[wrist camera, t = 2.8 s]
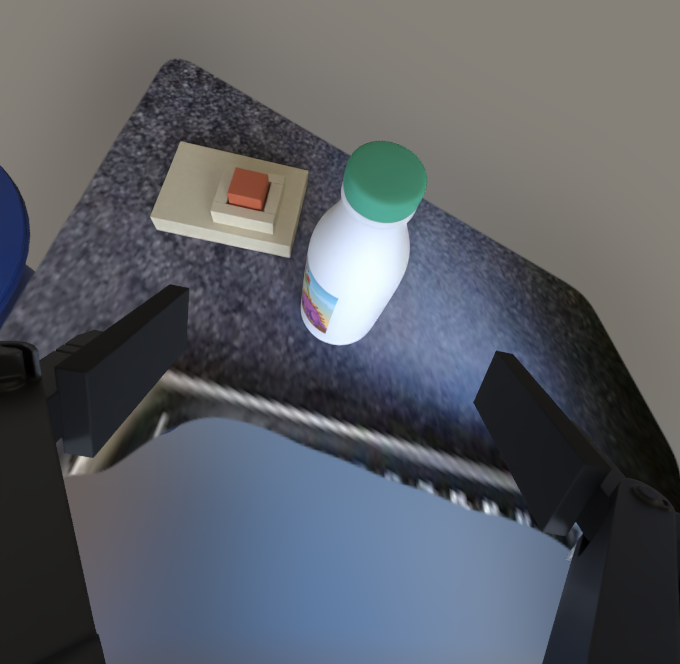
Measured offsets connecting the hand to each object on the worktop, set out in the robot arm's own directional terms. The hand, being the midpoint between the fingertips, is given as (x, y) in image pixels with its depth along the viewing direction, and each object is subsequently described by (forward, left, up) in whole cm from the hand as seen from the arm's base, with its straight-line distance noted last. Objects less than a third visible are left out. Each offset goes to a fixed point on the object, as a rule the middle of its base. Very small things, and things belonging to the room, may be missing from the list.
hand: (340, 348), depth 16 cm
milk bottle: (+1, +11, -21) cm, 23 cm away
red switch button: (-10, +20, -17) cm, 28 cm away
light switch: (-12, +21, -21) cm, 31 cm away
